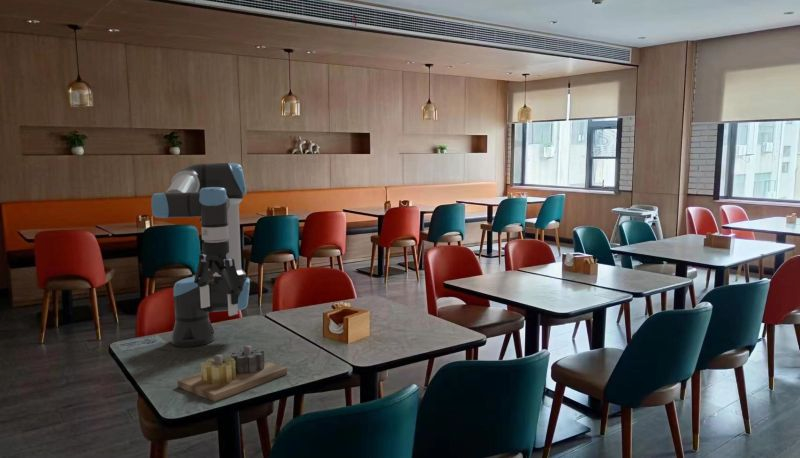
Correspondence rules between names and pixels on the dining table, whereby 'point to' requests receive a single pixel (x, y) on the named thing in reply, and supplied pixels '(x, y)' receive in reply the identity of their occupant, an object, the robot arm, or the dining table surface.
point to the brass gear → (218, 371)
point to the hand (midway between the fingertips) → (219, 311)
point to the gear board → (248, 375)
